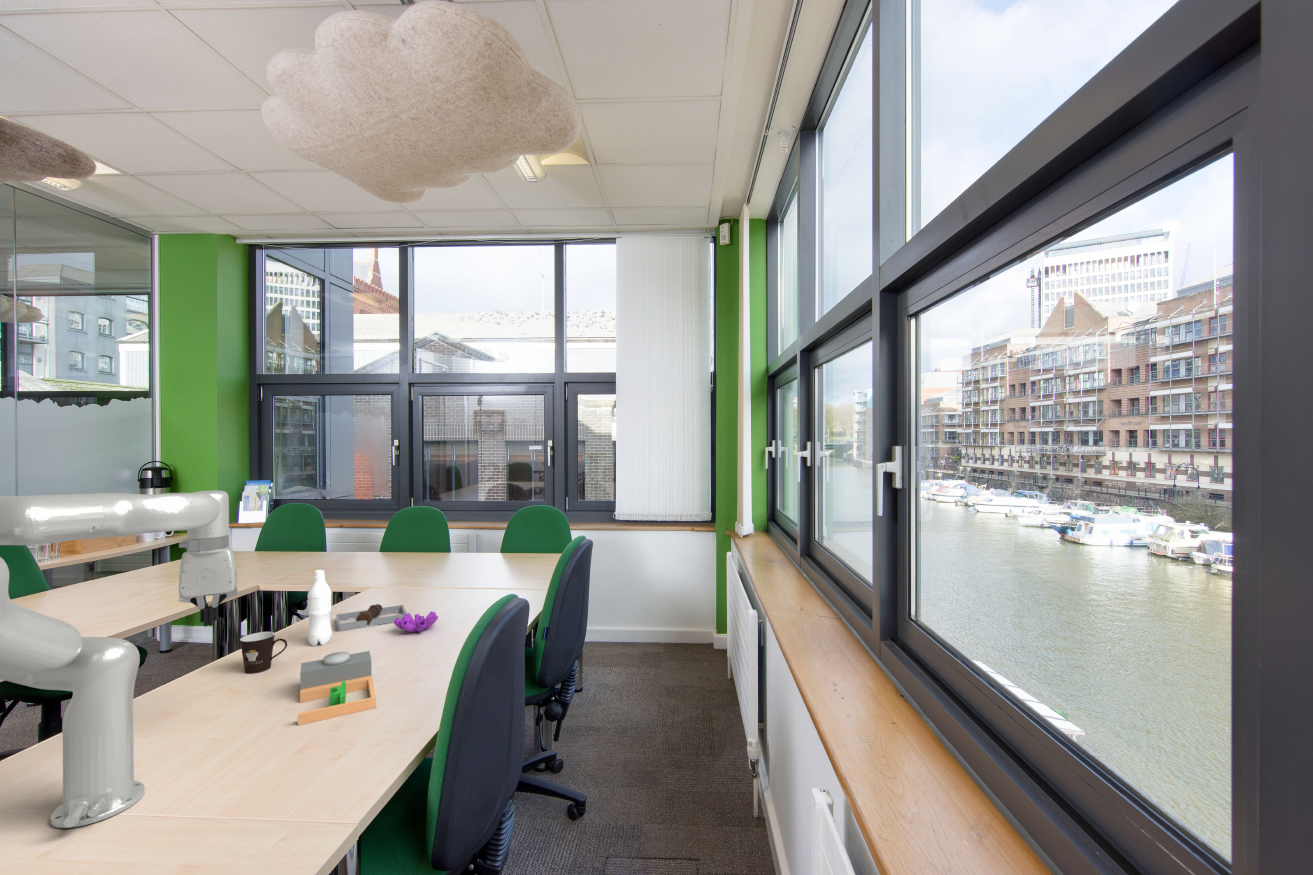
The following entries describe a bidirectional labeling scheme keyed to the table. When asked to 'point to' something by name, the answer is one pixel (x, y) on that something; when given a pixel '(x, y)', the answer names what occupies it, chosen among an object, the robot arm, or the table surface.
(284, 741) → the table surface
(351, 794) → the table surface
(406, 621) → the purple coral
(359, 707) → the orange and grey frame
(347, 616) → the parts tray
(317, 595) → the water bottle
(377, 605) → the brown lumpy elongated piece
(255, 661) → the coffee mug
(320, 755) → the table surface
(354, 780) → the table surface
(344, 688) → the pipe clamp
